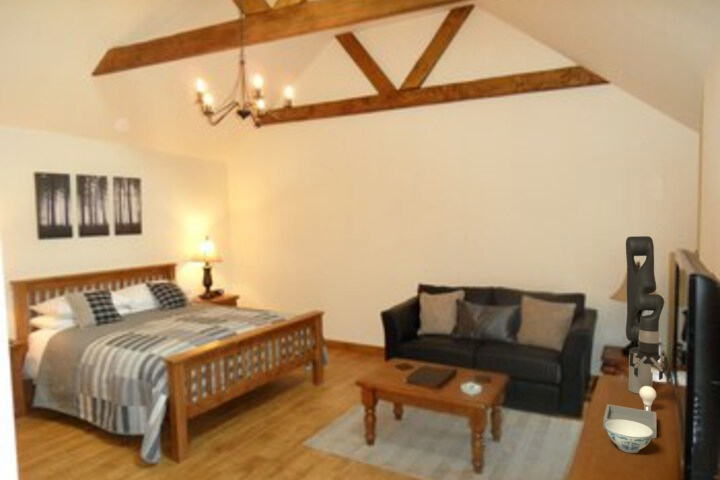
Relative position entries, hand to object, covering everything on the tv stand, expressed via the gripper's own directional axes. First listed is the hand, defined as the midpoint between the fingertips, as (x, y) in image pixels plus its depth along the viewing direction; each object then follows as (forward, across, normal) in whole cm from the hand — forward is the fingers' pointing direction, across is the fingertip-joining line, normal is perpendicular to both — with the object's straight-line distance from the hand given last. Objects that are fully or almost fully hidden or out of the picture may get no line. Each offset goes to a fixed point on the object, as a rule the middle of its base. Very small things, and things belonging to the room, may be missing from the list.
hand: (648, 377), depth 211 cm
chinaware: (+16, +5, +43) cm, 46 cm away
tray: (+15, +6, +19) cm, 25 cm away
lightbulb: (+15, 0, -1) cm, 15 cm away
